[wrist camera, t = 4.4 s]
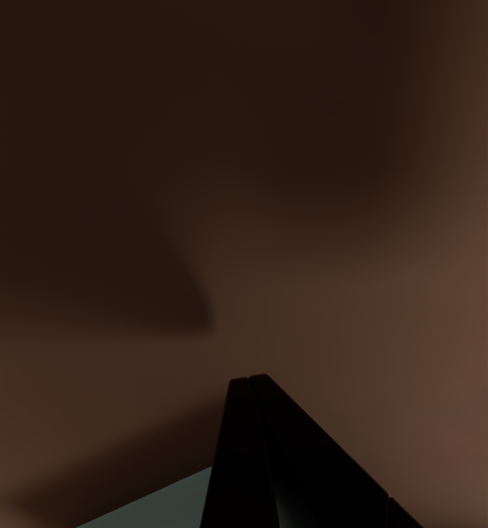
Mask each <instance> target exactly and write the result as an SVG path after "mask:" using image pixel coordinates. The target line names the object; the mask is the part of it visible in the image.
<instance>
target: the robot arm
mask: <svg viewBox="0 0 488 528" xmlns="http://www.w3.org/2000/svg"><path fill="white" fill-rule="evenodd" d="M280 527H281V528H423V527H422V526H421V525H420V524H419V523H418V522H417V521H416V520H415V519H414V518H413V517H412V516H411V515H410V514H409V513H408V512H407V511H406V510H405V509H404V508H403V507H402V506H401V505H400V504H399V503H398V502H397V501H396V500H395V499H394V498H392V497H390V498H389V495H388V493H387V492H386V491H385V490H384V489H383V488H382V487H381V486H380V485H379V484H378V483H377V482H376V481H375V480H374V479H373V478H372V477H371V476H370V475H369V474H368V473H367V472H366V471H365V470H364V469H363V468H362V467H361V466H360V465H359V464H358V463H357V462H356V461H355V460H354V459H353V458H352V457H351V456H350V455H349V454H348V453H347V452H346V451H345V450H344V449H342V448H341V447H340V446H339V445H338V444H337V443H336V442H335V441H334V440H333V439H332V438H331V437H330V436H329V435H328V434H327V433H326V432H325V431H324V430H323V429H322V428H321V427H320V426H319V425H318V424H317V423H316V422H315V421H314V420H313V419H312V418H311V417H310V416H309V415H308V414H307V413H306V412H305V411H304V410H303V409H302V408H301V407H300V406H299V405H298V404H297V403H296V402H295V401H294V400H293V399H292V398H291V397H290V396H289V395H288V394H287V393H286V392H285V391H284V390H283V389H282V388H281V387H280V386H278V385H277V384H276V383H275V382H274V381H273V380H272V379H271V378H270V377H269V376H268V375H267V374H258V375H252V376H250V377H249V378H247V377H242V378H236V379H232V380H230V382H229V386H228V391H227V396H226V400H225V405H224V410H223V415H222V420H221V425H220V430H219V435H218V440H217V444H216V449H215V454H214V459H213V464H212V469H211V474H210V479H209V484H208V488H207V493H206V498H205V503H204V508H203V513H202V518H201V523H200V527H199V528H280Z"/></svg>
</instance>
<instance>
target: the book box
mask: <svg viewBox="0 0 488 528" xmlns="http://www.w3.org/2000/svg"><path fill="white" fill-rule="evenodd" d="M211 469H212V466H211V467H209V468H206V469H204V470H202V471H200V472H198V473H195V474H193V475H191V476H189V477H186V478H184V479H182V480H180V481H178V482H175V483H173V484H171V485H169V486H167V487H164V488H162V489H160V490H158V491H156V492H153V493H151V494H149V495H147V496H145V497H142V498H140V499H138V500H136V501H134V502H131V503H129V504H127V505H125V506H123V507H120V508H118V509H116V510H114V511H112V512H109V513H107V514H105V515H103V516H101V517H98V518H96V519H94V520H92V521H90V522H87V523H85V524H83V525H81V526H79V527H76V528H199V527H200V523H201V518H202V513H203V508H204V503H205V498H206V493H207V488H208V484H209V479H210V474H211ZM280 528H281V527H280Z"/></svg>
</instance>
